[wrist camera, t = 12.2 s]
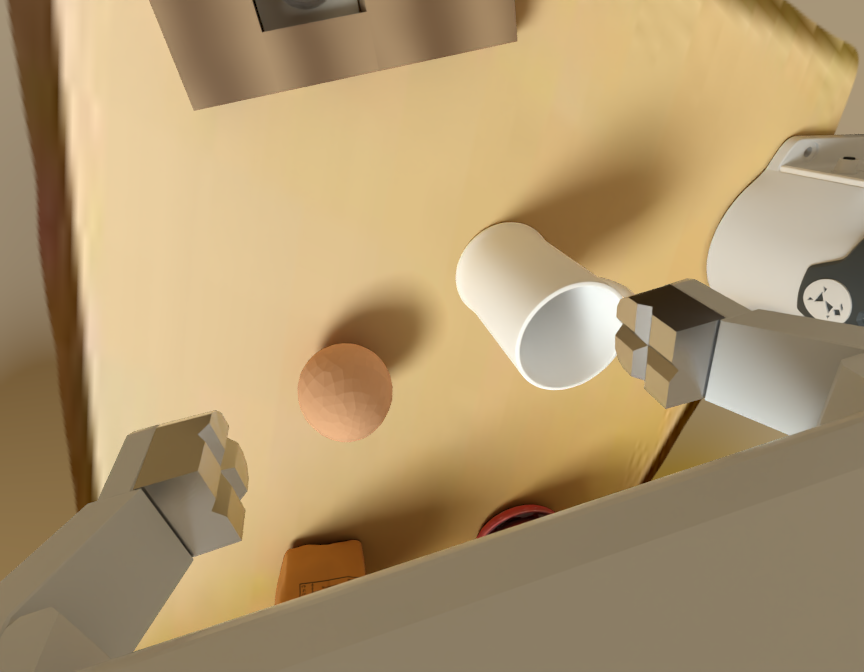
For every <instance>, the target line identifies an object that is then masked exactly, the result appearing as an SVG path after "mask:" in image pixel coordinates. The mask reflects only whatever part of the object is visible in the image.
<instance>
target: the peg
mask: <svg viewBox="0 0 864 672" xmlns="http://www.w3.org/2000/svg"><path fill="white" fill-rule="evenodd" d="M282 1H284V2H285V3H286V4H288V5H290V6H292V7H294V8H297V9H303V10H309V9H314V8H316V7H319V6H320V5H322V4H323V3H324V2H325V1H326V0H282Z"/></svg>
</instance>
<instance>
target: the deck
mask: <svg viewBox="0 0 864 672" xmlns="http://www.w3.org/2000/svg"><path fill="white" fill-rule="evenodd" d="M149 1H150V4H151V6H152V9H153V11H154V13H155V16H156V18H157V21H158V23H159V26H160V28H161V31H162V33H163V36H164V38H165V40H166V43H167V45H168V48H169V50H170V53H171V55H172V58H173V60H174V63H175V65H176V68H177V70H178V72H179V75H180V77H181V80H182V82H183V85H184V87H185V90H186V92H187V95H188V97H189V100H190V102H191V104H192V107H193V109H194V111H195V110H200V109H204V108H209V107H214V106H218V105H223V104H227V103H232V102H237V101H241V100H246V99H251V98H255V97H260V96H265V95H269V94H274V93H279V92H283V91H288V90H293V89H297V88H302V87H307V86H311V85H316V84H320V83H325V82H330V81H334V80H339V79H344V78H348V77H353V76H358V75H362V74H367V73H372V72H376V71H381V70H386V69H390V68H395V67H400V66H404V65H409V64H413V63H418V62H423V61H427V60H432V59H437V58H441V57H446V56H451V55H455V54H460V53H465V52H469V51H474V50H479V49H483V48H488V47H492V46H497V45H502V44H506V43H511V42H516V41H517V28H516V13H515V0H358V2H359V7H360V12H361V13H360V12H359V7H358V2H357V0H326V1H325V2H324V3H323V4H322V5H320V6H319V7H316V8H314V9H309V10H303V9H297V8H294V7H292V6H290V5H288V4H286V3H285V2H284V1H282V0H255V2H256V5H257V9H258V12H259V15H260V18H261V22H262V25H263V28H264V31H265V32H263V30H262V27H261V24H260V21H259V17H258V14H257V11H256V8H255V4H254V1H253V0H149Z"/></svg>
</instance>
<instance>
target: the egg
mask: <svg viewBox="0 0 864 672" xmlns="http://www.w3.org/2000/svg"><path fill="white" fill-rule="evenodd" d="M298 400H299V405H300V408H301V411H302V413H303V415H304V417H305V419H306V421H307V422H308V423H309V424H310V425H311V426H312V427H313V428H314V429H315V430H316V431H318V432H319V433H320V434H321V435H323V436H325V437H327V438H329V439H332V440H335V441H340V442H352V441H356V440H360V439H363V438H365V437H367V436H369V435H370V434H371V433H373V432H374V431H375V430H376V429H377V428H378V427H379V426H380V425H381V423H382V422H383V420H384V418H385V417H386V415H387V413H388V411H389V408H390V405H391V402H392V383H391V378H390V374H389V372H388V370H387V368H386V366H385V364H384V363H383V361H382V360H381V359H380V358H379V357H378V356H377V355H376V354H375V353H374V352H372V351H371V350H369V349H367V348H365V347H362V346H360V345H356V344H350V343H341V344H335V345H331V346H329V347H326V348H324V349H322V350H320V351H319V352H317V353H316V354H315V355H314V356H313V357H312V358H311V359H310V360H309V361H308V362H307V364H306V365H305V367H304V368H303V370H302V372H301V375H300V379H299V383H298Z"/></svg>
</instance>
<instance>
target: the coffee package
mask: <svg viewBox="0 0 864 672" xmlns="http://www.w3.org/2000/svg"><path fill="white" fill-rule="evenodd" d="M365 575H366V571H365V563H364V555H363V549H362V544H361V542H360V541H357V540H349V541H345V542H338V543H333V544H329V545H303V546H300V547H297V548H294V549H289V550H287V552H286V553H285V555H284V558H283V562H282V567H281V571H280V575H279V579H278V584H277V589H276V596H275V605H277V604H280V603H283V602H286V601H289V600H292V599H295V598H298V597H302V596H305V595H308V594H311V593H314V592H317V591H320V590H323V589H326V588H329V587H332V586H335V585H338V584H341V583H344V582H347V581H350V580H353V579H356V578H359V577H362V576H365Z"/></svg>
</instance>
